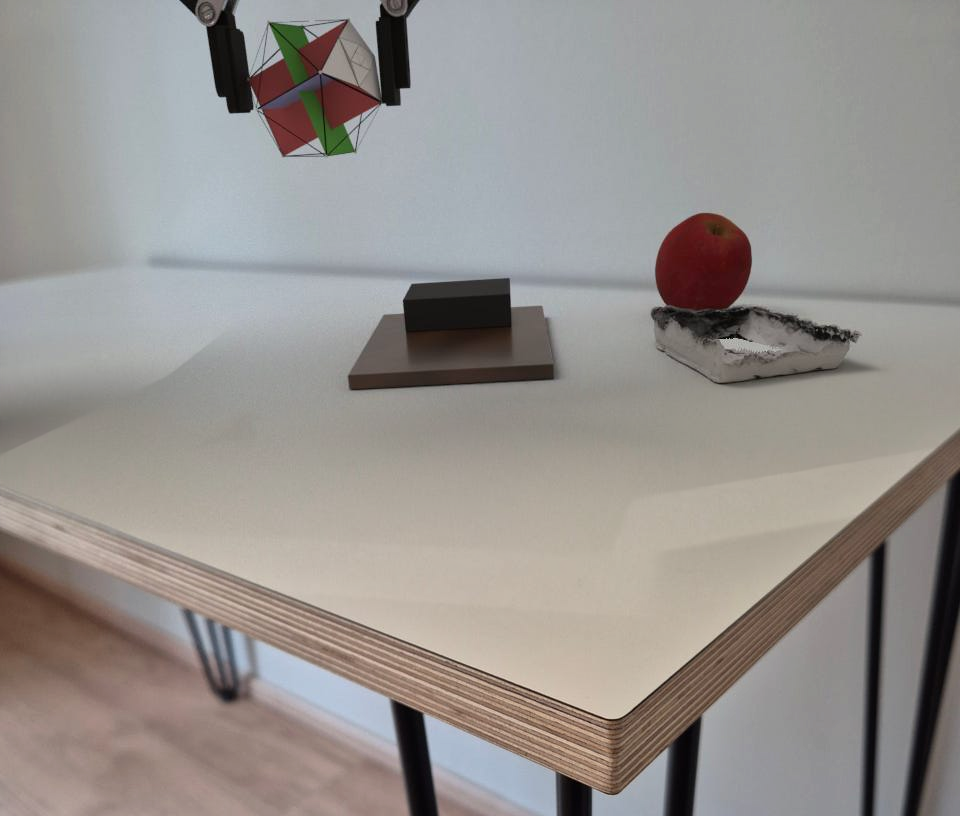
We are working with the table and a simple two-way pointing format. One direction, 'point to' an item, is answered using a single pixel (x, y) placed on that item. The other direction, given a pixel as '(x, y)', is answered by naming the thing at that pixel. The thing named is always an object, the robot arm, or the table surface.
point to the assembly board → (455, 353)
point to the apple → (703, 263)
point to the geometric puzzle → (316, 87)
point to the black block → (457, 305)
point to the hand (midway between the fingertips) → (316, 107)
